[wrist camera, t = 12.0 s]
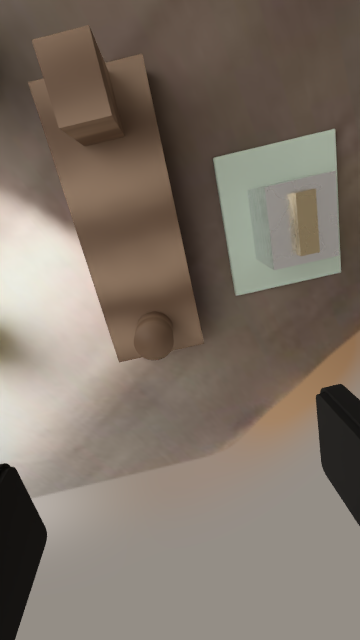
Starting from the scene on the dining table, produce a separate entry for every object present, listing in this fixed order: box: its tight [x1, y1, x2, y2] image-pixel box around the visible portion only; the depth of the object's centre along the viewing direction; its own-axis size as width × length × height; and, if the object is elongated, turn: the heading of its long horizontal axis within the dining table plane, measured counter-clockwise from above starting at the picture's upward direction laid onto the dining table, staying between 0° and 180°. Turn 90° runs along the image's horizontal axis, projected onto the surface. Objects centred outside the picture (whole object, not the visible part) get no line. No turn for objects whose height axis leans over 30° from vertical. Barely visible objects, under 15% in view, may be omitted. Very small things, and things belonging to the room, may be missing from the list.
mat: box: [213, 129, 341, 296], centre depth 28 cm, size 12×10×1 cm
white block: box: [247, 171, 339, 270], centre depth 25 cm, size 6×5×6 cm
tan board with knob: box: [28, 25, 204, 362], centre depth 24 cm, size 22×8×9 cm, turn 12°
